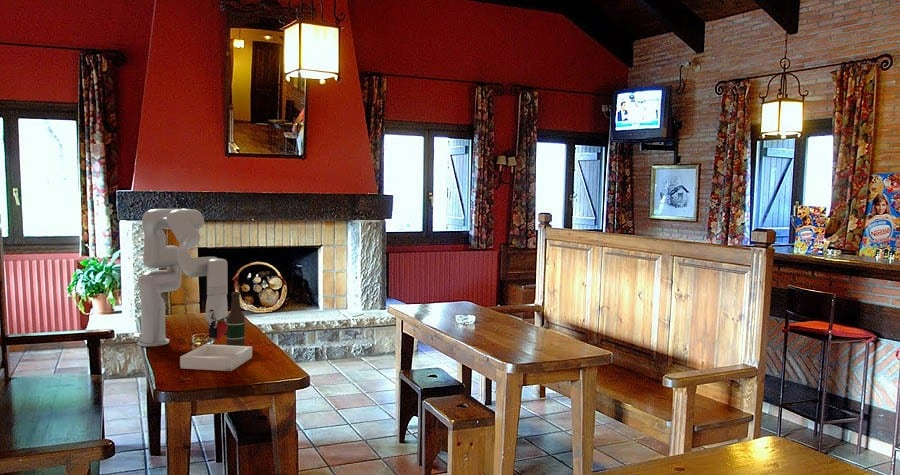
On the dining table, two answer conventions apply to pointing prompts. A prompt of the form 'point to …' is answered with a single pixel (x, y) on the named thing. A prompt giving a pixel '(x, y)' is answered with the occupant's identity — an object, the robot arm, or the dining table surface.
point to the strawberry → (220, 329)
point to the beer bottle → (235, 323)
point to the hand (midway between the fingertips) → (217, 335)
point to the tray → (216, 357)
